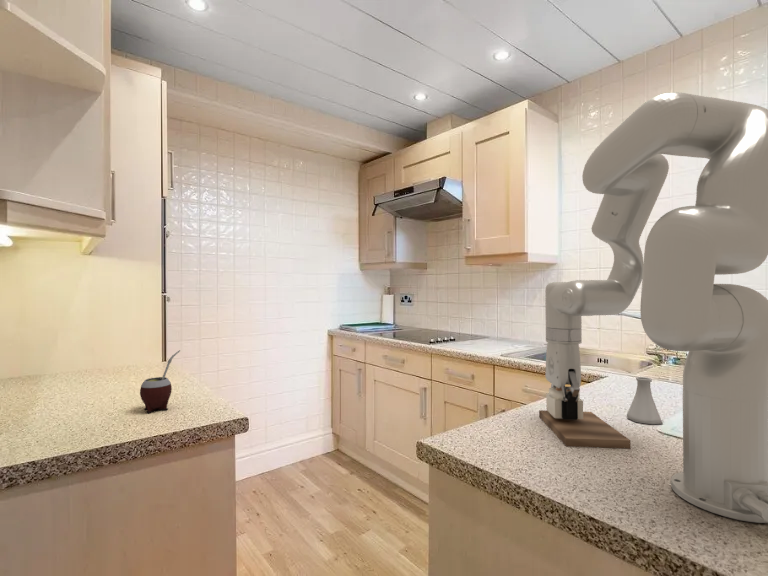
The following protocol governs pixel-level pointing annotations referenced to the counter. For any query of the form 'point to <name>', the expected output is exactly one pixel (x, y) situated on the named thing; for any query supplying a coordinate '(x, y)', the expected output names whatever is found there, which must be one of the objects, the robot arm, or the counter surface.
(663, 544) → the counter surface
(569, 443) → the hub board
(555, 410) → the knob
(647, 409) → the flask
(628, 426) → the counter surface
